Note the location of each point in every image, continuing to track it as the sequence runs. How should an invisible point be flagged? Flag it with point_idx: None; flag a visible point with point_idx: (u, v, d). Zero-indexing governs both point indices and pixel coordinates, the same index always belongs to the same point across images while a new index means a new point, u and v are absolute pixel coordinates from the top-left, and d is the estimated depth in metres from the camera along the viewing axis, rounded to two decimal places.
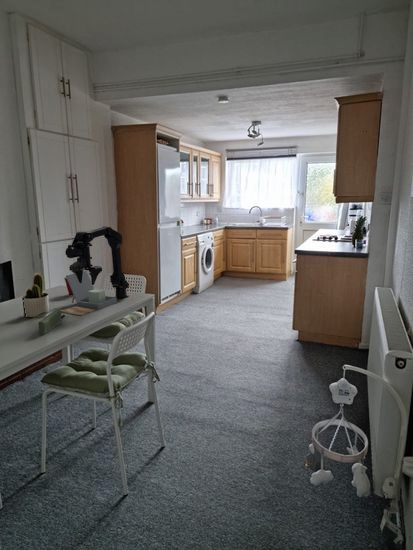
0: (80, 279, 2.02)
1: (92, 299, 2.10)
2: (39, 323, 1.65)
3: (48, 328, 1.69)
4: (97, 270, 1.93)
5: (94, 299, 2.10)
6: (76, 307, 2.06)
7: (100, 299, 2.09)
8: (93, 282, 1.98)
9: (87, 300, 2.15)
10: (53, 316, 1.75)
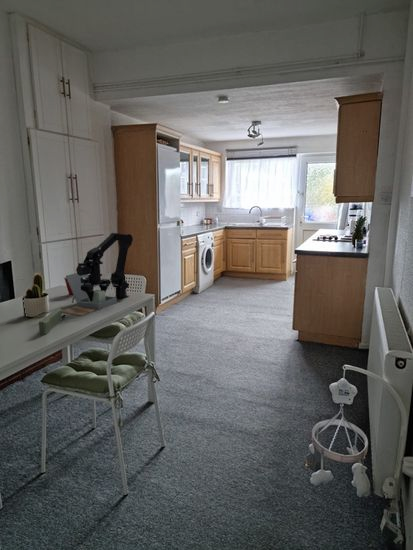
0: None
1: None
2: (40, 323, 1.65)
3: (49, 328, 1.69)
4: (83, 288, 2.03)
5: (94, 299, 2.10)
6: (76, 307, 2.06)
7: (100, 299, 2.09)
8: (90, 299, 2.08)
9: (87, 300, 2.15)
10: (54, 316, 1.75)
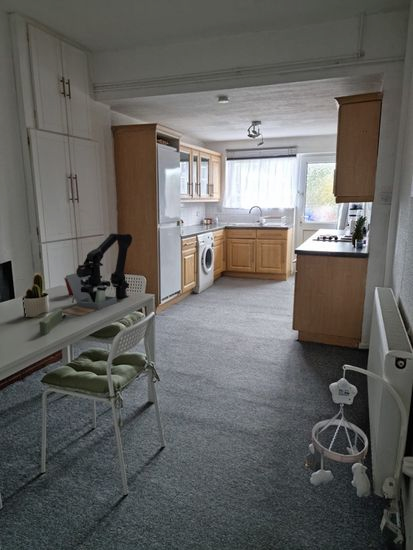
0: None
1: None
2: (40, 323, 1.65)
3: (49, 328, 1.69)
4: (83, 290, 2.03)
5: None
6: (76, 307, 2.06)
7: (100, 299, 2.09)
8: (93, 300, 2.09)
9: (87, 300, 2.15)
10: (54, 316, 1.75)
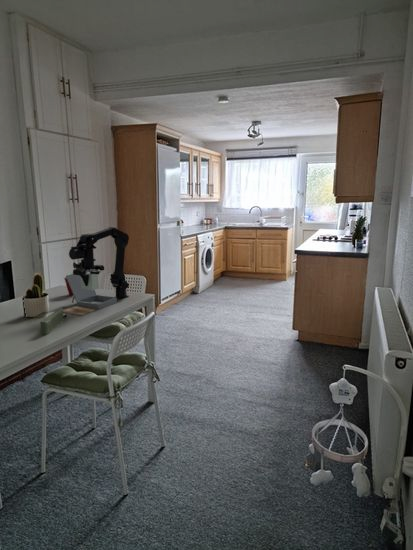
0: None
1: None
2: (41, 323, 1.65)
3: (50, 328, 1.69)
4: (75, 272, 1.97)
5: None
6: (76, 307, 2.06)
7: (93, 283, 2.03)
8: (86, 284, 2.03)
9: (87, 300, 2.15)
10: (55, 316, 1.75)
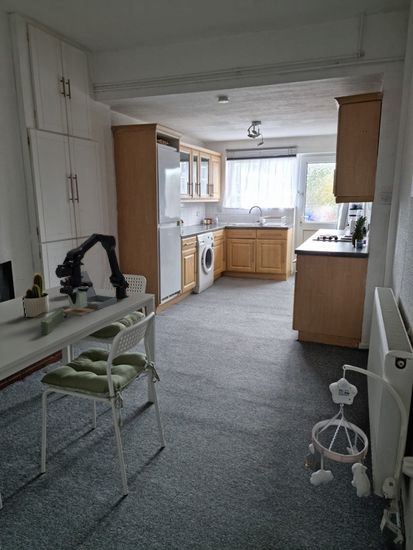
0: None
1: None
2: (42, 323, 1.65)
3: (51, 328, 1.69)
4: (62, 291, 1.90)
5: None
6: None
7: (81, 301, 1.96)
8: (73, 302, 1.96)
9: (87, 300, 2.15)
10: (56, 316, 1.75)
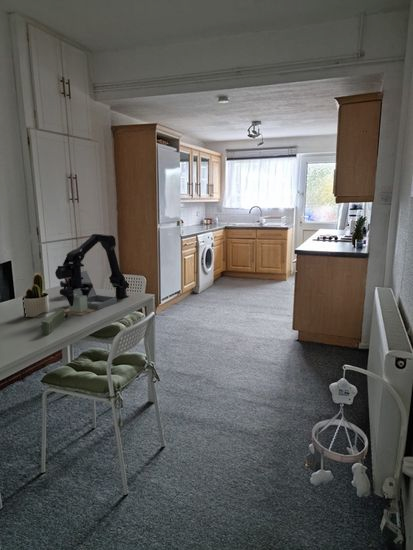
0: None
1: (73, 304, 1.98)
2: (43, 323, 1.65)
3: (51, 328, 1.69)
4: (62, 292, 1.90)
5: (75, 304, 1.97)
6: None
7: (81, 304, 1.96)
8: (71, 304, 1.95)
9: (87, 300, 2.15)
10: (56, 316, 1.75)
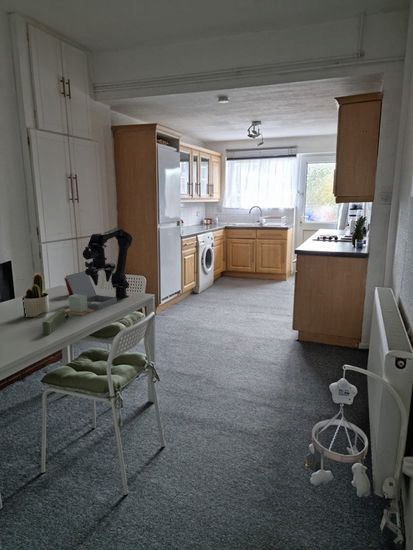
0: (107, 278, 2.13)
1: (73, 304, 1.98)
2: (43, 323, 1.65)
3: (52, 328, 1.69)
4: (87, 272, 2.00)
5: (75, 304, 1.97)
6: None
7: (81, 304, 1.96)
8: (95, 283, 2.05)
9: (87, 300, 2.15)
10: (57, 316, 1.75)
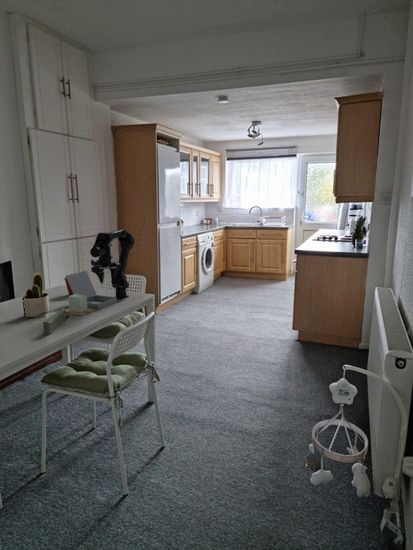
0: (112, 276, 2.15)
1: (73, 304, 1.98)
2: (44, 323, 1.65)
3: (53, 328, 1.69)
4: (93, 270, 2.02)
5: (75, 304, 1.97)
6: None
7: (81, 304, 1.96)
8: (101, 281, 2.07)
9: (87, 300, 2.15)
10: (58, 316, 1.75)
